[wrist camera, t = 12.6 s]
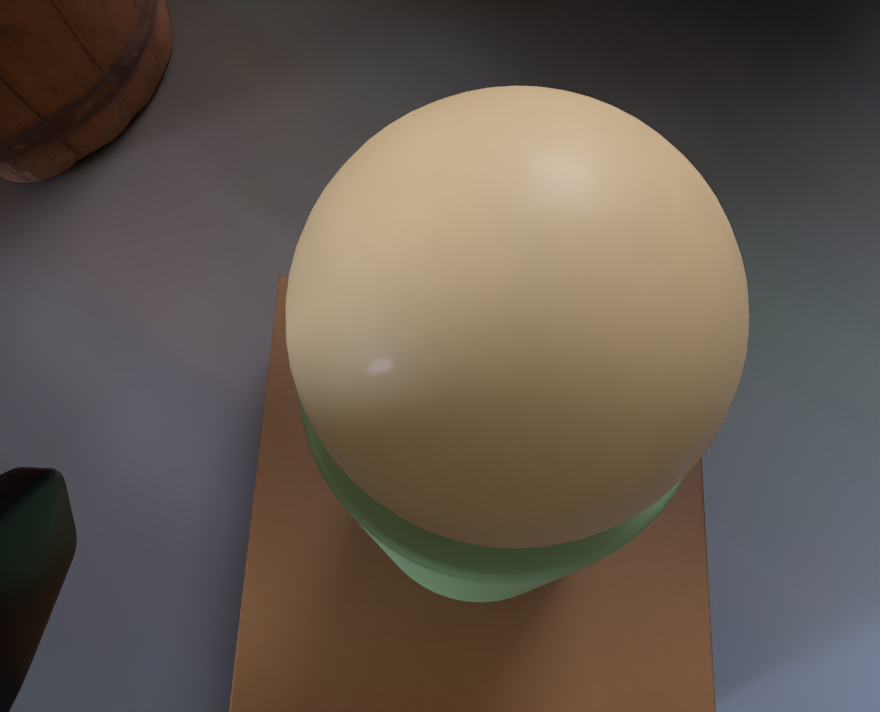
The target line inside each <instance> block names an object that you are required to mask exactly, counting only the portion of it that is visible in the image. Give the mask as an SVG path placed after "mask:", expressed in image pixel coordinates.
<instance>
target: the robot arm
mask: <svg viewBox="0 0 880 712" xmlns="http://www.w3.org/2000/svg"><path fill="white" fill-rule="evenodd" d="M76 542H77V539H76V529H75V524H74V520H73V515H72V511H71V506H70V502H69V497H68V493H67V488H66V484H65V481H64V478H63V476H62V474H61V473H60V472H59V471H57V470H56V469H53V468H34V467H18V468H14V469H11V470H9V471H7V472H5V473H3V474H1V475H0V712H9V711H10V709H11V707H12V705H13V703H14V701H15V699H16V697H17V695H18V693H19V691H20V688H21V686H22V684H23V682H24V679H25V677H26V675H27V672H28V670H29V668H30V665H31V663H32V660H33V658H34V655H35V653H36V650H37V648H38V645H39V643H40V640H41V638H42V635H43V633H44V630H45V628H46V625H47V623H48V620H49V618H50V615H51V612H52V610H53V607H54V605H55V602H56V600H57V597H58V595H59V592H60V590H61V587H62V585H63V582H64V580H65V577H66V575H67V572H68V570H69V567H70V565H71V562H72V560H73V557H74V554H75V549H76Z"/></svg>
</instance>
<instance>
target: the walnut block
mask: <svg viewBox="0 0 880 712" xmlns="http://www.w3.org/2000/svg"><path fill="white" fill-rule="evenodd" d="M288 279H289V276H280V277H279V281H278V289H277V298H276V307H275V316H274V324H273V333H272V342H271V350H270V359H269V368H268V376H267V385H266V394H265V403H264V411H263V420H262V429H261V437H260V446H259V455H258V463H257V472H256V481H255V490H254V498H253V507H252V516H251V524H250V533H249V542H248V550H247V559H246V568H245V577H244V585H243V594H242V603H241V611H240V620H239V629H238V637H237V646H236V655H235V664H234V672H233V681H232V690H231V698H230V707H229V712H716V709H715V691H714V673H713V656H712V638H711V620H710V602H709V584H708V566H707V548H706V530H705V513H704V495H703V477H702V459H701V458H700V459H699V460H698V462H697V463H696V464H695V466H694V467H693V468H692V469H691V470H690V471H689V472H688V473H687V474H686V476H685V478H684V480H683V481H682V483H681V485H680V487H679V488H678V490H677V492H676V494H675V495H674V497H673V498H672V499H671V500H670V502H669V503H668V504H667V506H666V507H665V508H664V509H663V511H662V512H661V513H660V515H659V516H658V517H657V518H656V519H655V520H654V521H653V522H652V523H651V524H650V525H649V526H648V527H647V528H645V529H644V530H643V531H642V532H641V533H640V534H639V535H638V536H637V537H635V538H634V539H633V540H631V541H630V542H629V543H627V544H626V545H624V546H623V547H622V548H620V549H619V550H618V551H616V552H614V553H612V554H611V555H609V556H607V557H605V558H603V559H601V560H599V561H597V562H595V563H594V564H592V565H589V566H587V567H585V568H582V569H580V570H578V571H575V572H573V573H571V574H568V575H566V576H564V577H561V578H559V579H557V580H554V581H552V582H550V583H547V584H545V585H543V586H540V587H538V588H536V589H533V590H531V591H529V592H526V593H524V594H521V595H518V596H516V597H513V598H510V599H505V600H500V601H494V602H466V601H461V600H456V599H451V598H448V597H445V596H442V595H440V594H437V593H435V592H433V591H431V590H429V589H427V588H425V587H423V586H422V585H420V584H419V583H417V582H416V581H414V580H413V579H412V578H410V577H409V576H408V575H407V574H406V573H405V572H404V571H403V570H401V569H400V568H399V567H398V565H397V564H396V563H395V562H394V561H393V560H392V559H391V558H390V557H389V556H388V555H387V554H386V552H385V551H384V550H383V549H382V548H381V547H380V546H379V545H378V544H377V543H376V542H375V541H374V540H373V538H372V537H371V536H370V535H369V534H368V533H367V532H366V531H365V530H364V529H363V528H362V527H361V525H360V524H359V523H358V522H357V521H356V520H355V519H354V518H353V517H352V515H351V514H350V513H349V512H348V511H347V510H346V508H345V507H344V506H343V505H342V504H341V502H340V501H339V500H338V499H337V498H336V496H335V495H334V493H333V491H332V490H331V488H330V487H329V485H328V484H327V482H326V480H325V479H324V477H323V476H322V474H321V472H320V470H319V467H318V465H317V463H316V461H315V459H314V456H313V454H312V452H311V450H310V446H309V443H308V440H307V436H306V433H305V430H304V426H303V421H302V415H301V408H300V402H299V395H298V392H297V388H296V385H295V382H294V379H293V375H292V372H291V369H290V363H289V356H288V350H287V343H286V295H287V287H288Z"/></svg>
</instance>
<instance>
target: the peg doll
mask: <svg viewBox="0 0 880 712" xmlns="http://www.w3.org/2000/svg"><path fill="white" fill-rule="evenodd" d="M748 331H749V303H748V287H747V280H746V275H745V270H744V265H743V260H742V256H741V253H740V250H739V248H738V245H737V242H736V239H735V236H734V233H733V231H732V228H731V226H730V223H729V221H728V219H727V217H726V215H725V213H724V211H723V209H722V207H721V205H720V203H719V201H718V199H717V197H716V196H715V194H714V193H713V191H712V190H711V189H710V187H709V186H708V184H707V183H706V181H705V180H704V178H703V177H702V175H701V174H700V173H699V172H698V171H697V170H696V169H695V167H694V166H693V165H692V164H691V163H690V162H689V161H688V160H687V158H686V157H685V156H684V155H683V154H682V153H681V152H680V151H678V150H677V149H676V148H675V147H674V146H673V145H672V144H670V143H669V142H668V141H667V140H666V139H665V138H664V137H662V136H661V135H660V134H659V133H657V132H656V131H654V130H653V129H652V128H650V127H649V126H647V125H646V124H644V123H643V122H641V121H640V120H639V119H637V118H635V117H633V116H631V115H630V114H628V113H626V112H624V111H622V110H620V109H618V108H616V107H614V106H612V105H609V104H607V103H604V102H602V101H599V100H597V99H594V98H592V97H588V96H584V95H581V94H577V93H573V92H570V91H566V90H559V89H553V88H546V87H536V86H503V87H489V88H484V89H478V90H473V91H468V92H463V93H460V94H457V95H453V96H450V97H447V98H444V99H440V100H438V101H435V102H433V103H430V104H428V105H426V106H423V107H421V108H419V109H416V110H414V111H412V112H410V113H408V114H406V115H405V116H403V117H401V118H400V119H398V120H396V121H394V122H393V123H391V124H389V125H388V126H386V127H385V128H384V129H382V130H381V131H380V132H378V133H377V134H376V135H375V136H373V137H372V138H371V139H369V140H368V141H367V142H366V143H365V144H364V145H363V146H362V147H361V148H360V149H359V150H358V151H357V152H356V153H355V154H354V155H352V156H351V157H350V158H349V159H348V161H347V162H346V163H345V164H344V165H343V166H342V167H341V168H340V170H339V171H338V172H337V173H336V175H335V176H334V177H333V178H332V180H331V181H330V182H329V184H328V185H327V186H326V187H325V189H324V190H323V192H322V194H321V196H320V197H319V199H318V201H317V202H316V204H315V206H314V207H313V209H312V211H311V213H310V215H309V218H308V220H307V222H306V225H305V227H304V229H303V232H302V234H301V236H300V239H299V242H298V244H297V247H296V250H295V254H294V258H293V261H292V265H291V269H290V272H289V279H288V287H287V295H286V343H287V350H288V356H289V363H290V369H291V372H292V375H293V379H294V382H295V385H296V388H297V392H298V395H299V402H300V408H301V415H302V421H303V426H304V430H305V433H306V436H307V440H308V443H309V446H310V450H311V452H312V454H313V456H314V459H315V461H316V463H317V465H318V467H319V470H320V472H321V474H322V476H323V477H324V479H325V480H326V482H327V484H328V485H329V487H330V488H331V490H332V491H333V493H334V495H335V496H336V498H337V499H338V500H339V501H340V502H341V504H342V505H343V506H344V507H345V508H346V510H347V511H348V512H349V513H350V514H351V515H352V517H353V518H354V519H355V520H356V521H357V522H358V523H359V524H360V525H361V527H362V528H363V529H364V530H365V531H366V532H367V533H368V534H369V535H370V536H371V537H372V538H373V540H374V541H375V542H376V543H377V544H378V545H379V546H380V547H381V548H382V549H383V550H384V551H385V552H386V554H387V555H388V556H389V557H390V558H391V559H392V560H393V561H394V562H395V563H396V564H397V565H398V567H399V568H400V569H401V570H403V571H404V572H405V573H406V574H407V575H408V576H409V577H410V578H412V579H413V580H414V581H416V582H417V583H419V584H420V585H422V586H423V587H425V588H427V589H429V590H431V591H433V592H435V593H437V594H440V595H442V596H445V597H448V598H451V599H456V600H461V601H466V602H494V601H500V600H505V599H510V598H513V597H516V596H518V595H521V594H524V593H526V592H529V591H531V590H533V589H536V588H538V587H540V586H543V585H545V584H547V583H550V582H552V581H554V580H557V579H559V578H561V577H564V576H566V575H568V574H571V573H573V572H575V571H578V570H580V569H582V568H585V567H587V566H589V565H592V564H594V563H595V562H597V561H599V560H601V559H603V558H605V557H607V556H609V555H611V554H612V553H614V552H616V551H618V550H619V549H620V548H622V547H623V546H624V545H626V544H627V543H629V542H630V541H631V540H633V539H634V538H635V537H637V536H638V535H639V534H640V533H641V532H642V531H643V530H644V529H645V528H647V527H648V526H649V525H650V524H651V523H652V522H653V521H654V520H655V519H656V518H657V517H658V516H659V515H660V513H661V512H662V511H663V509H664V508H665V507H666V506H667V504H668V503H669V502H670V500H671V499H672V498H673V497H674V495H675V494H676V492H677V490H678V488H679V487H680V485H681V483H682V481H683V480H684V478H685V476H686V474H687V473H688V472H689V471H690V470H691V469H692V468H693V467H694V466H695V464H696V463H697V462H698V460H699V459H700V458H701V457H702V455H703V454H704V453H705V451H706V450H707V449H708V448H709V446H710V445H711V443H712V442H713V440H714V438H715V436H716V435H717V433H718V431H719V429H720V428H721V426H722V424H723V422H724V420H725V419H726V416H727V414H728V411H729V409H730V406H731V403H732V401H733V398H734V396H735V393H736V391H737V388H738V385H739V383H740V380H741V376H742V371H743V367H744V362H745V358H746V354H747V343H748Z"/></svg>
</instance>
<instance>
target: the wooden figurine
mask: <svg viewBox="0 0 880 712" xmlns="http://www.w3.org/2000/svg"><path fill="white" fill-rule="evenodd" d="M172 37H173V34H172V25H171V20H170V15H169V10H168V7H167V4H166V1H165V0H0V177H2V178H4V179H6V180H9V181H12V182H17V183H30V182H38V181H43V180H47V179H50V178H52V177H54V176H56V175H58V174H60V173H62V172H63V171H65V170H67V169H69V168H71V167H72V165H73V164H74V163H75V162H76V161H78V160H80V159H82V158H83V157H85V156H87V155H88V154H90V153H92V152H93V151H95V150H97V149H98V148H100V147H102V146H104V145H106V144H108V143H109V142H111V141H112V140H114V139H115V138H116V137H117V136H118V135H119V134H120V133H121V132H122V131H123V130H124V129H125V128H126V126H127V125H128V123H129V122H130V120H131V119H132V118H133V117H134V116H135V115H136V114H137V113H138V112H139V111H140V110H141V109H142V108H143V107H144V106H145V105H146V104H147V103H148V102H149V100H150V99H151V97H152V95H153V93H154V91H155V89H156V87H157V85H158V83H159V81H160V79H161V77H162V76H163V74H164V72H165V70H166V66H167V62H168V60H169V58H170V55H171V51H172Z"/></svg>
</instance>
